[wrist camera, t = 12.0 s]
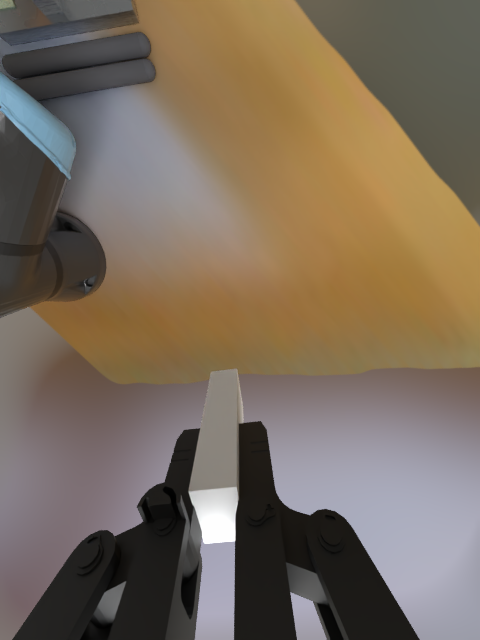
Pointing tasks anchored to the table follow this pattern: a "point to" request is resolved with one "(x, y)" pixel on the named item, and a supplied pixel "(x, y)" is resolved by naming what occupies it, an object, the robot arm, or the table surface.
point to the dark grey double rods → (82, 66)
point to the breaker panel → (61, 18)
